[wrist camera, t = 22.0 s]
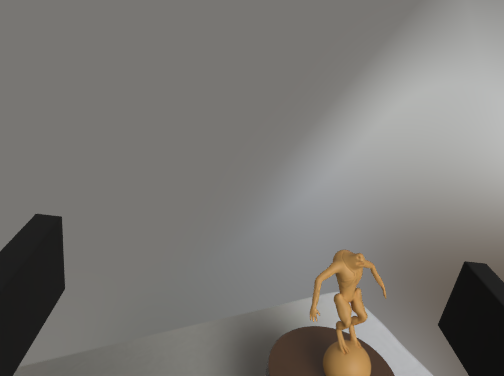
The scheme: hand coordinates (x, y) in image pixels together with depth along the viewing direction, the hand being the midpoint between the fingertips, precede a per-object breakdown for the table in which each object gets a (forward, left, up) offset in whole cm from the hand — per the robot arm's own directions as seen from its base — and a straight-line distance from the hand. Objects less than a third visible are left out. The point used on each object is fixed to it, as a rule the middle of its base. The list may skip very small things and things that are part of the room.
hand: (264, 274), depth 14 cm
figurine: (+13, +13, -21) cm, 28 cm away
